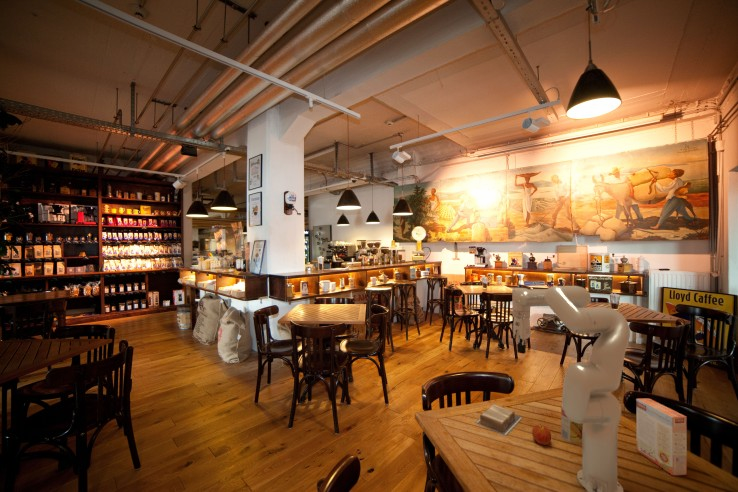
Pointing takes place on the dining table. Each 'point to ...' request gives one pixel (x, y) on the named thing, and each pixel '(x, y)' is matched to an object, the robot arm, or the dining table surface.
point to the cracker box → (662, 435)
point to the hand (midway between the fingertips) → (521, 352)
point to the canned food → (571, 429)
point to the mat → (509, 428)
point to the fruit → (541, 434)
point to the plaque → (497, 417)
